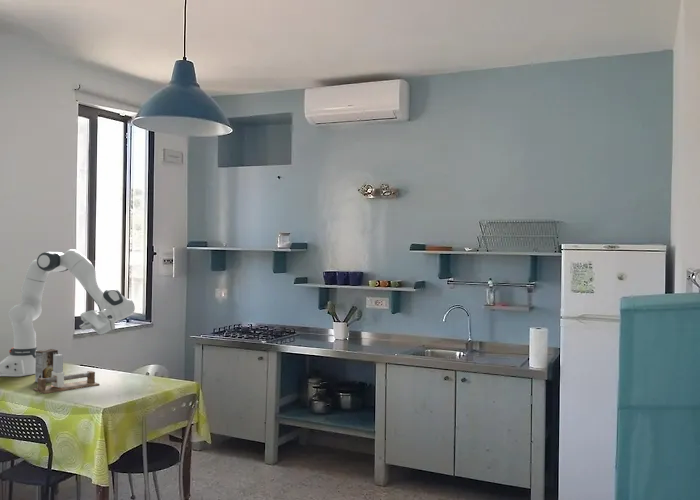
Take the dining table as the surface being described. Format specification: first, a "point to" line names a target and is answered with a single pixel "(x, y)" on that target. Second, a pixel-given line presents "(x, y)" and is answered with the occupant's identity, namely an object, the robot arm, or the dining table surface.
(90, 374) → the pipe stand
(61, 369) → the collar
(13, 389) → the dining table surface
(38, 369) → the coffee box
